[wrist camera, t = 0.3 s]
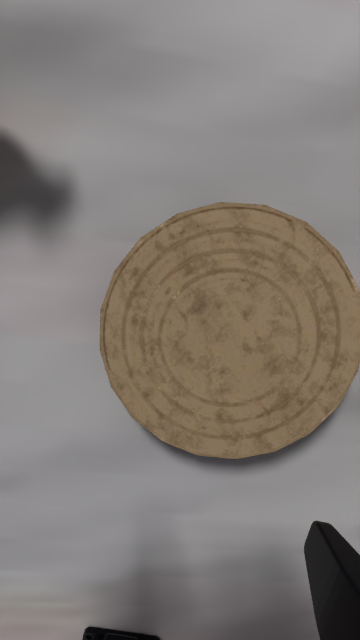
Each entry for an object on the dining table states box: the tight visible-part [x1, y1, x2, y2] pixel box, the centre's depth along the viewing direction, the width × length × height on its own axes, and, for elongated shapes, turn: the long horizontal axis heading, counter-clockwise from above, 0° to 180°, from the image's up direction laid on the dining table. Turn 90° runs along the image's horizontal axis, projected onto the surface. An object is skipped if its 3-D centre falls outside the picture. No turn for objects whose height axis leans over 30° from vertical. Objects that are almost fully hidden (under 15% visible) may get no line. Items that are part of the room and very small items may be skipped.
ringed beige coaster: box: [100, 202, 360, 459], centre depth 21 cm, size 16×16×3 cm
